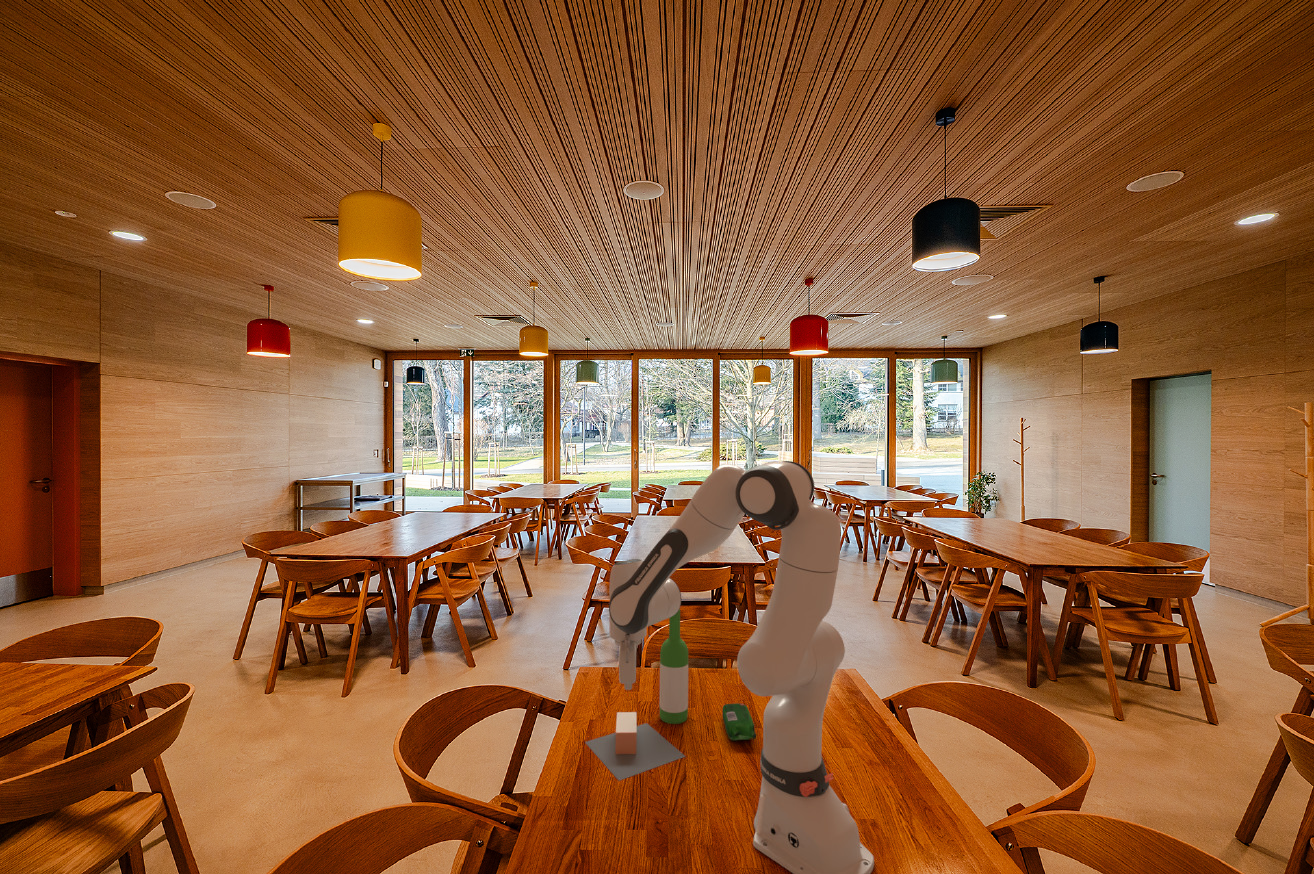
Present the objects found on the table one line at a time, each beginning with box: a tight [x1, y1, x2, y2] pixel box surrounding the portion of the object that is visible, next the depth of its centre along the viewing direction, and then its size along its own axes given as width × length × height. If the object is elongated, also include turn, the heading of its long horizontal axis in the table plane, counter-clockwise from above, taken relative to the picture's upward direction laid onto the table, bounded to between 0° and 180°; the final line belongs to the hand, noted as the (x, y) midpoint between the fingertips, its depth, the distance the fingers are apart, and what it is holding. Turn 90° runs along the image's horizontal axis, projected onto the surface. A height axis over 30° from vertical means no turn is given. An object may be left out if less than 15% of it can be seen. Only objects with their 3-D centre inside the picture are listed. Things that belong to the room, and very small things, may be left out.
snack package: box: [722, 702, 757, 742], centre depth 140 cm, size 7×16×5 cm, turn 1°
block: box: [615, 711, 638, 754], centre depth 133 cm, size 5×5×10 cm
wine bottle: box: [659, 609, 689, 725], centre depth 146 cm, size 8×8×30 cm
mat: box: [584, 722, 687, 782], centre depth 130 cm, size 18×18×1 cm
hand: (628, 687), depth 126 cm, fingers closed
